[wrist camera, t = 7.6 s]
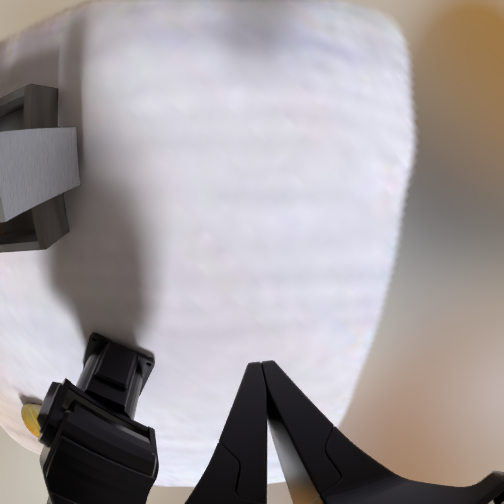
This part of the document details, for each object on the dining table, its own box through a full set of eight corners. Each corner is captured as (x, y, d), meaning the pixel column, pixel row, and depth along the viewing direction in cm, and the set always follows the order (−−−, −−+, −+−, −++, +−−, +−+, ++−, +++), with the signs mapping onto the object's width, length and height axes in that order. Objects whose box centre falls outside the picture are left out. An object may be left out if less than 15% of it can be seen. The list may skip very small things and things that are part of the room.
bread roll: (82, 435, 30) (77, 455, 26) (45, 428, 29) (39, 445, 26) (53, 403, 26) (44, 425, 23) (17, 397, 26) (8, 415, 22)
